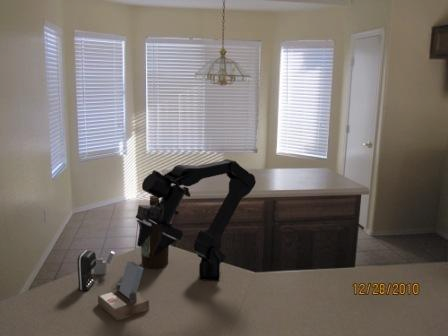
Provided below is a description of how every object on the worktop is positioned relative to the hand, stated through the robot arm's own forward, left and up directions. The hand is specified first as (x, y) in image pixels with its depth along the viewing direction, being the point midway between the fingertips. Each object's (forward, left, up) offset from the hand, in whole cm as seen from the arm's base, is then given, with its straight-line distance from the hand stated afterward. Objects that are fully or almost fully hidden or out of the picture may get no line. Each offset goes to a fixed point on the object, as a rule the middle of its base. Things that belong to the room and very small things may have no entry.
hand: (146, 250), depth 136 cm
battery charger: (+20, -5, -15) cm, 26 cm away
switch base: (+5, +6, -15) cm, 17 cm away
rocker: (+5, +6, -12) cm, 14 cm away
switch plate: (+8, +9, -12) cm, 17 cm away
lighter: (+18, -15, -15) cm, 28 cm away
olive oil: (+3, -25, -15) cm, 29 cm away
